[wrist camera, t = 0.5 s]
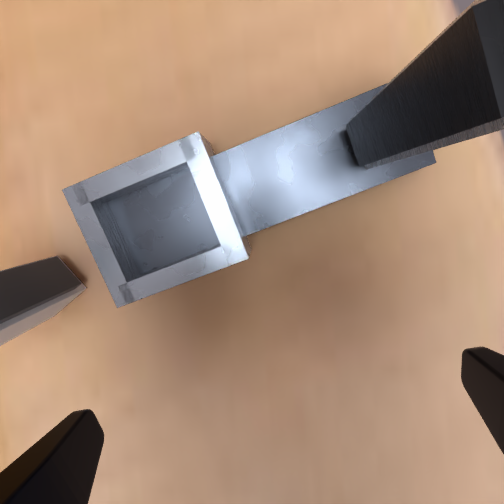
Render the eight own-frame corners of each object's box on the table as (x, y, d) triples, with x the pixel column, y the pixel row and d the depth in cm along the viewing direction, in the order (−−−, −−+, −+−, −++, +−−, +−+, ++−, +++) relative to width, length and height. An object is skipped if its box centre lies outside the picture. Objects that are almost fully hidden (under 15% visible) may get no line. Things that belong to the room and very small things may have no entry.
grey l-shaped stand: (428, 182, 20) (777, 145, 6) (140, 290, 22) (-66, 439, 9) (393, 65, 19) (717, -278, 5) (95, 191, 21) (-222, 177, 8)
